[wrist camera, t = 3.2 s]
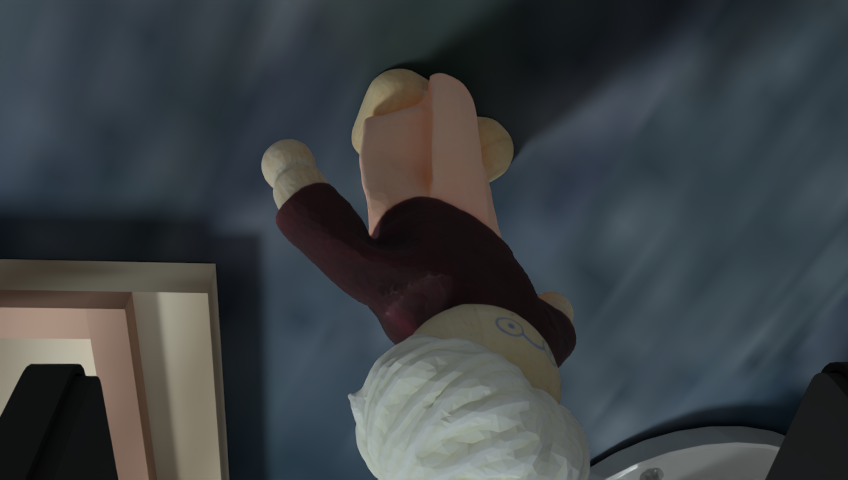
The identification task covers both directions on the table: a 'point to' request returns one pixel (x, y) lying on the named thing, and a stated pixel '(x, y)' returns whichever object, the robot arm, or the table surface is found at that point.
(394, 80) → the grandmother figurine
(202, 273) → the display base
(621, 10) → the table surface
